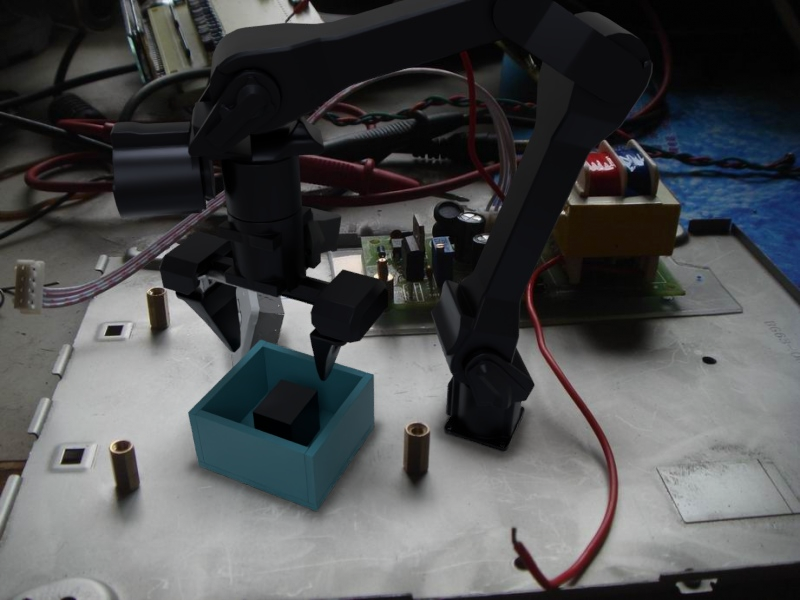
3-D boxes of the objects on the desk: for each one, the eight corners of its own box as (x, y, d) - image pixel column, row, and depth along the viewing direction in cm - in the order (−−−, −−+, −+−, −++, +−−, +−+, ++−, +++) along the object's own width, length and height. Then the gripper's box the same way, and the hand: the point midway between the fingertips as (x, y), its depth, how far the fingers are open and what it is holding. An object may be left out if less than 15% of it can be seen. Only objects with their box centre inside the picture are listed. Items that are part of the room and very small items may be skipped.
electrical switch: (227, 331, 87) (226, 262, 82) (272, 328, 88) (273, 260, 83) (235, 383, 80) (233, 311, 74) (283, 379, 81) (286, 308, 76)
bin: (374, 426, 74) (374, 374, 70) (316, 511, 66) (312, 456, 62) (266, 390, 78) (260, 339, 75) (198, 466, 70) (187, 412, 66)
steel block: (320, 429, 73) (317, 390, 70) (294, 464, 69) (290, 424, 66) (284, 417, 74) (280, 378, 71) (257, 450, 70) (252, 411, 68)
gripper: (417, 187, 60) (412, 340, 69) (224, 146, 67) (242, 292, 75) (354, 251, 52) (358, 416, 61) (140, 197, 58) (171, 354, 67)
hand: (279, 363), depth 66 cm, fingers open, 9 cm apart
